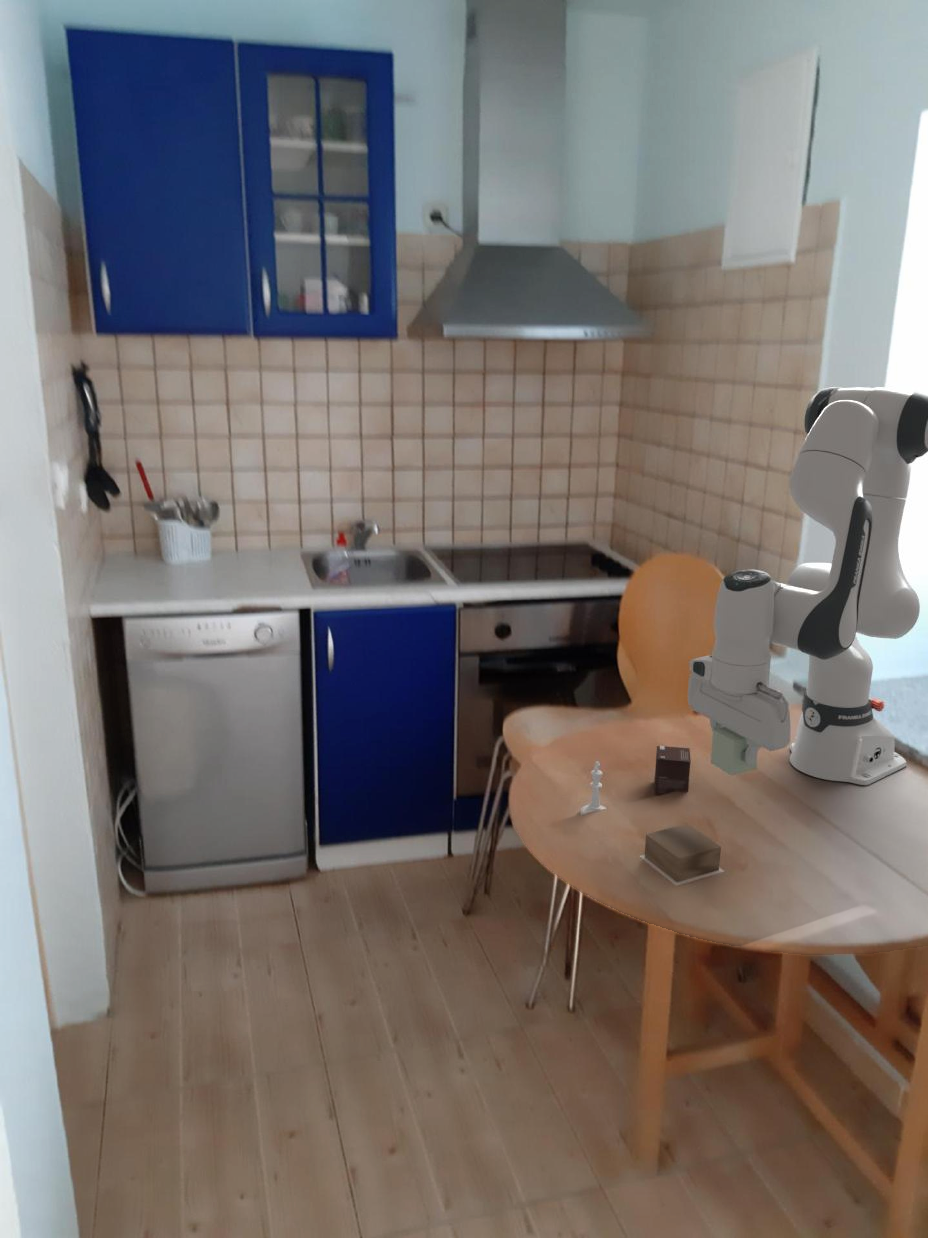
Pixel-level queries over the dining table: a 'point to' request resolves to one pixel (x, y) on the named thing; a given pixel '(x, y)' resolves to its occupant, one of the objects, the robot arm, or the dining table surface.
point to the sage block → (729, 751)
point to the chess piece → (594, 791)
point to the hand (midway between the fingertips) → (734, 753)
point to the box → (672, 770)
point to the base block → (682, 852)
